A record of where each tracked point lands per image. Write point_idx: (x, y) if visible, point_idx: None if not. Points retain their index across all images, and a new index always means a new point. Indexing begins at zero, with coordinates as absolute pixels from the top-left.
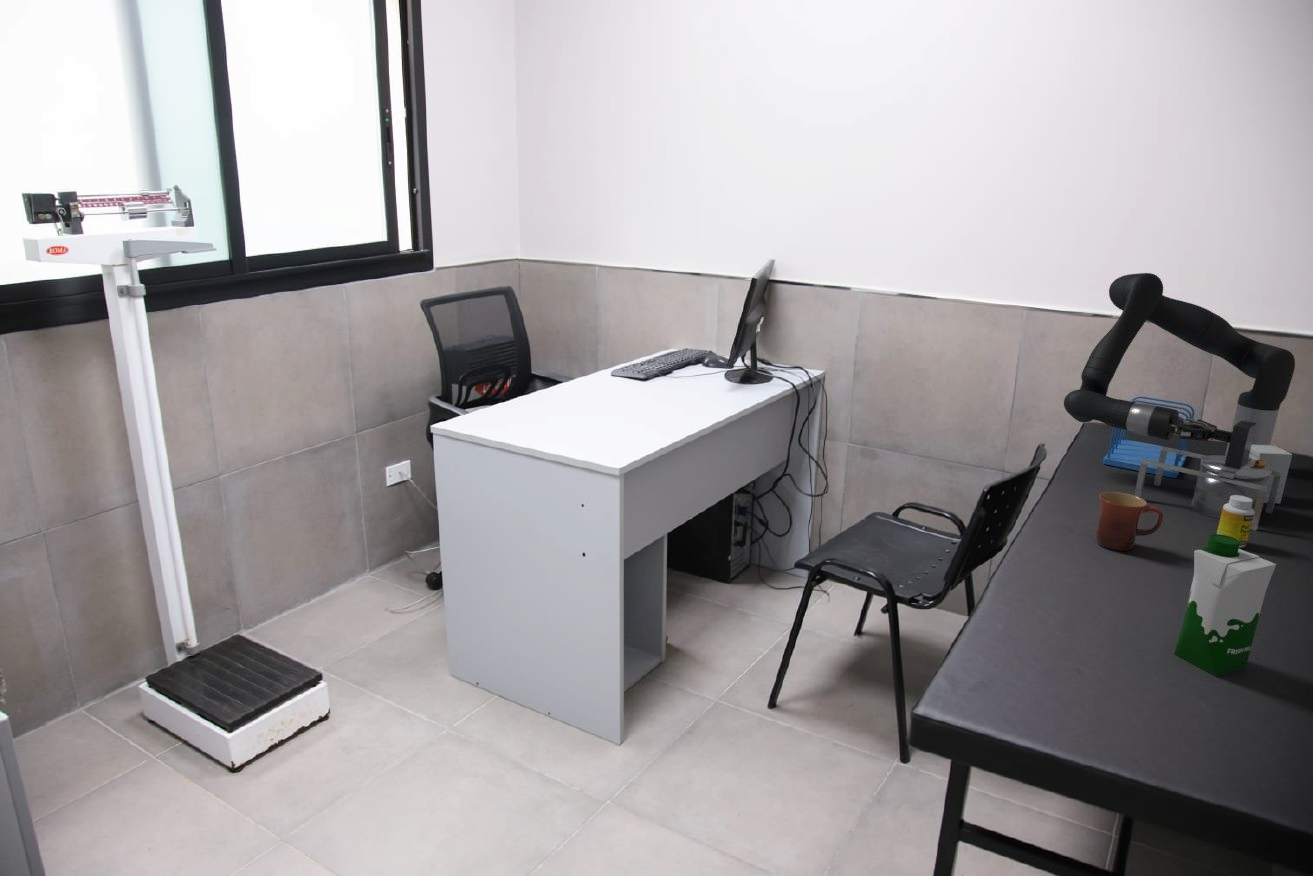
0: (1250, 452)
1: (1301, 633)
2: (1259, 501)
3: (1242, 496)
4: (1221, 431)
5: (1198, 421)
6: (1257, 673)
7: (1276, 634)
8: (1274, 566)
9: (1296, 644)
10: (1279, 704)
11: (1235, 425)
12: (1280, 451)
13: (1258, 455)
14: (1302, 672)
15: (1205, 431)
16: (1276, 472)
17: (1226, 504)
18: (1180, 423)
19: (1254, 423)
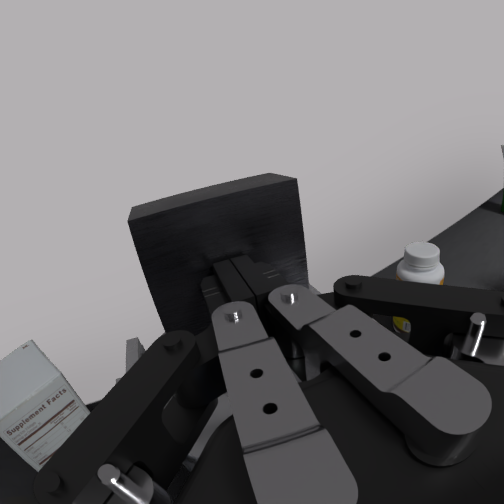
0: (32, 413)
1: (455, 223)
2: None
3: (414, 252)
4: (264, 275)
5: (114, 481)
6: (496, 209)
7: (472, 223)
8: (501, 146)
9: (465, 218)
10: (494, 201)
11: (280, 181)
12: (22, 354)
13: (62, 384)
14: (474, 209)
15: (376, 283)
16: (138, 345)
17: (438, 271)
18: (477, 453)
19: (145, 204)
